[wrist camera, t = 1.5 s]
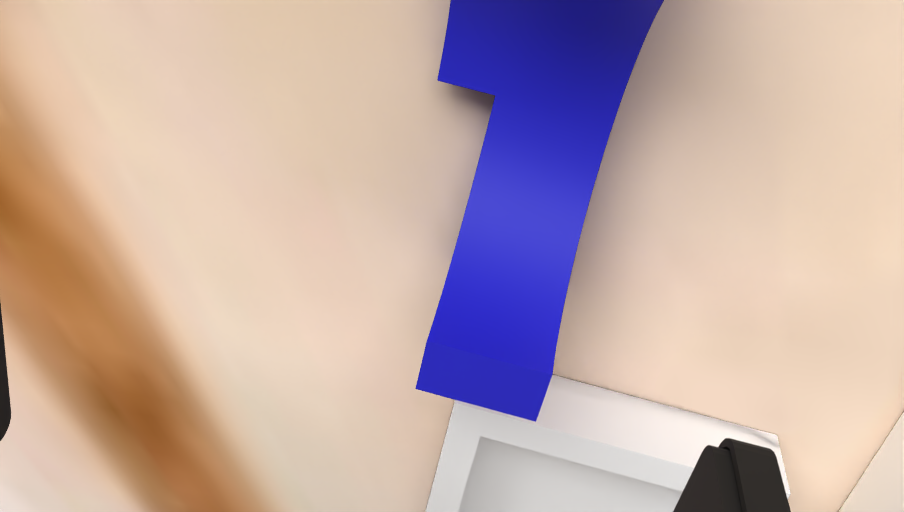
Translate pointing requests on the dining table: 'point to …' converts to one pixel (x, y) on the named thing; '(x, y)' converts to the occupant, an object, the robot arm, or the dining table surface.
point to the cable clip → (526, 185)
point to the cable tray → (577, 454)
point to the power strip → (882, 478)
